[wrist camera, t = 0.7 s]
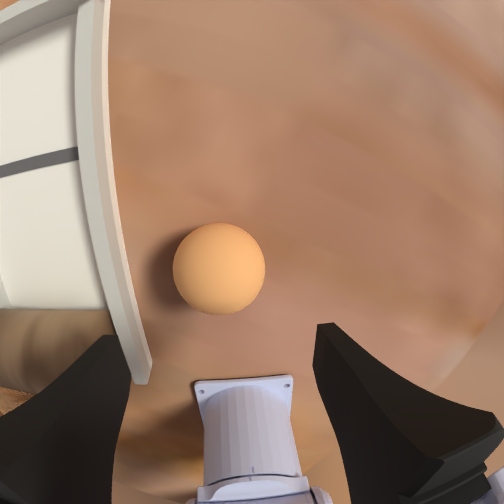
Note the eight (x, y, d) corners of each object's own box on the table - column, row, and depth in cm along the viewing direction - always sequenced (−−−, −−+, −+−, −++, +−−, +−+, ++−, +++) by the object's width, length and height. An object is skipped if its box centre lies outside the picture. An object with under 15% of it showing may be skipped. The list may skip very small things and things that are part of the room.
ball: (260, 284, 20) (270, 330, 16) (184, 288, 20) (174, 335, 15) (258, 209, 18) (270, 239, 14) (174, 214, 18) (158, 246, 13)
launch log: (132, 361, 21) (115, 423, 15) (34, 354, 20) (6, 403, 15) (112, 292, 19) (79, 352, 13) (8, 293, 18) (-33, 338, 12)
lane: (152, 361, 22) (144, 399, 19) (33, 354, 21) (16, 384, 18) (110, -4, 12) (86, -28, 8) (-25, 54, 11) (-59, 50, 8)
